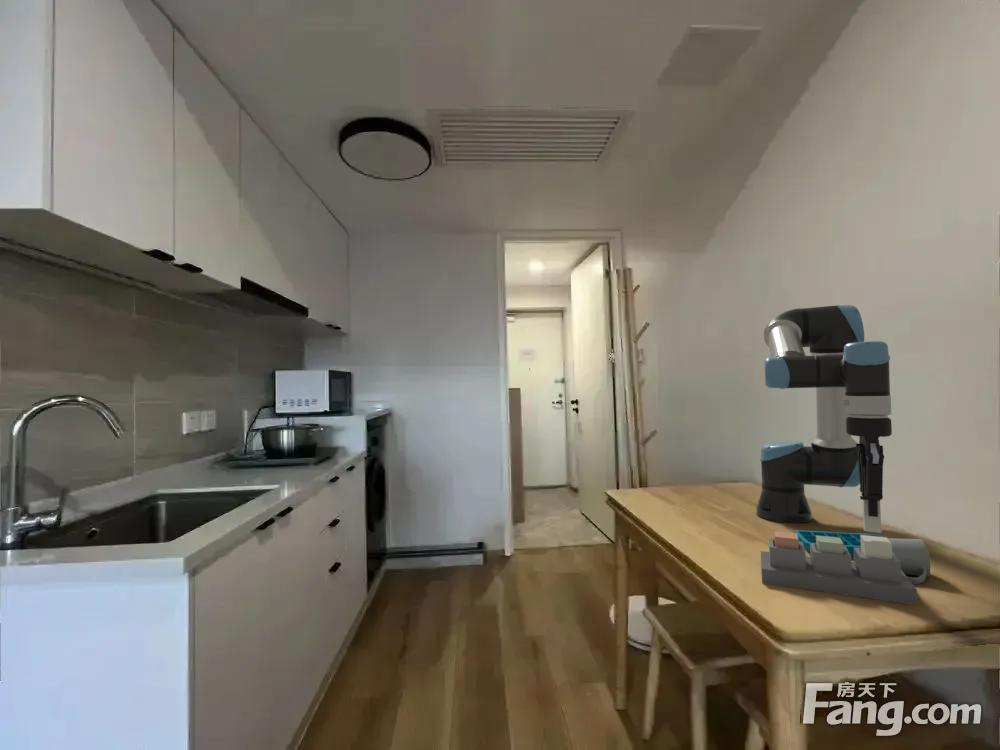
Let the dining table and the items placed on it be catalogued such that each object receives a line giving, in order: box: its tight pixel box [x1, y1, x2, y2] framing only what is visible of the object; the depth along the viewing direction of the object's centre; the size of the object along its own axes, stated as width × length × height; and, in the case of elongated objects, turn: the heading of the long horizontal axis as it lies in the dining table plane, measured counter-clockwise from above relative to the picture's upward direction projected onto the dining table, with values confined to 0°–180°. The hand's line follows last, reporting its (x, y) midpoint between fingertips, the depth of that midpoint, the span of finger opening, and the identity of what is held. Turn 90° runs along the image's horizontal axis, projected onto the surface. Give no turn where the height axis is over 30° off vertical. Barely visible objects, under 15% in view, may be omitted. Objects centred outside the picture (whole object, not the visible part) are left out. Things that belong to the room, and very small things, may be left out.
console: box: [760, 537, 918, 606], centre depth 105 cm, size 12×26×7 cm, turn 63°
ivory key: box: [860, 535, 892, 560], centre depth 101 cm, size 4×4×4 cm
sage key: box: [816, 535, 844, 554], centre depth 105 cm, size 4×4×4 cm
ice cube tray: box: [793, 529, 885, 558], centre depth 124 cm, size 12×20×3 cm, turn 74°
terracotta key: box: [773, 531, 799, 549], centre depth 108 cm, size 4×4×4 cm
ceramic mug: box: [886, 537, 931, 585], centre depth 107 cm, size 11×8×8 cm
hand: (872, 530), depth 101 cm, fingers closed
